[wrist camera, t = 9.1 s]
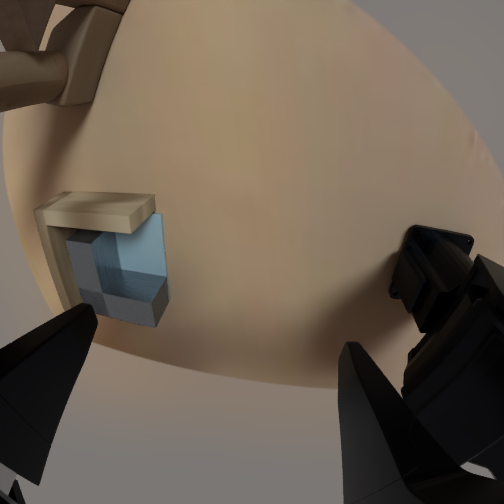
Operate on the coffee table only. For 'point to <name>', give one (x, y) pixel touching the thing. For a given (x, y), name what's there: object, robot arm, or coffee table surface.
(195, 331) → the coffee table surface
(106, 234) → the bracket
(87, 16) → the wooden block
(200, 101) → the coffee table surface
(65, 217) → the corner walls
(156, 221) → the pad
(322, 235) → the coffee table surface
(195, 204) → the coffee table surface
